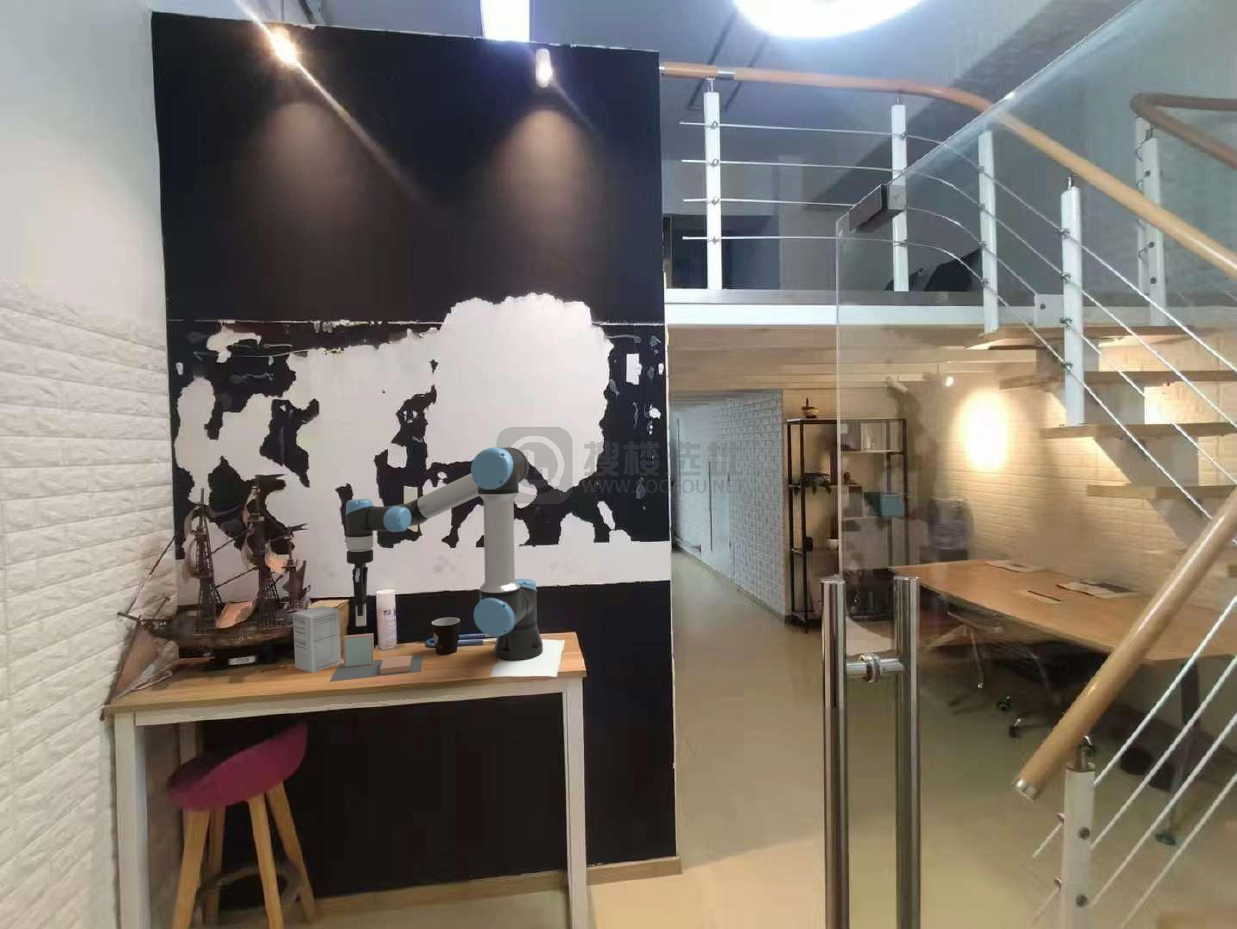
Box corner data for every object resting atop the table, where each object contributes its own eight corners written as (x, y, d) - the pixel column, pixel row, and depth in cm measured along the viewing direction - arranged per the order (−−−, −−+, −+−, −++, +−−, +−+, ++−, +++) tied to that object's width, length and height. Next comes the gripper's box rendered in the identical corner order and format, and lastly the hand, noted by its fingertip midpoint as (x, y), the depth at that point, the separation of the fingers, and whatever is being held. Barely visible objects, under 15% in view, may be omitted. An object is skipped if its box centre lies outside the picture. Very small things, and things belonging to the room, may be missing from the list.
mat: (423, 656, 183) (423, 655, 183) (420, 673, 169) (420, 671, 169) (339, 665, 176) (339, 663, 176) (329, 683, 163) (329, 681, 163)
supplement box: (324, 658, 182) (323, 604, 182) (342, 664, 177) (340, 608, 177) (293, 668, 174) (291, 612, 174) (311, 674, 169) (309, 616, 169)
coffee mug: (432, 649, 189) (431, 619, 188) (459, 646, 191) (459, 616, 191) (432, 662, 178) (431, 629, 177) (461, 658, 180) (461, 626, 180)
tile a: (412, 655, 178) (409, 665, 169) (412, 660, 178) (409, 671, 169) (383, 657, 176) (379, 668, 167) (383, 663, 176) (380, 674, 167)
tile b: (374, 662, 177) (373, 633, 177) (373, 664, 175) (372, 634, 175) (345, 665, 175) (344, 635, 174) (344, 667, 173) (343, 637, 173)
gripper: (350, 546, 186) (351, 620, 187) (342, 553, 173) (343, 632, 174) (375, 545, 188) (376, 618, 189) (370, 552, 175) (371, 630, 176)
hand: (361, 625), depth 181 cm, fingers closed
